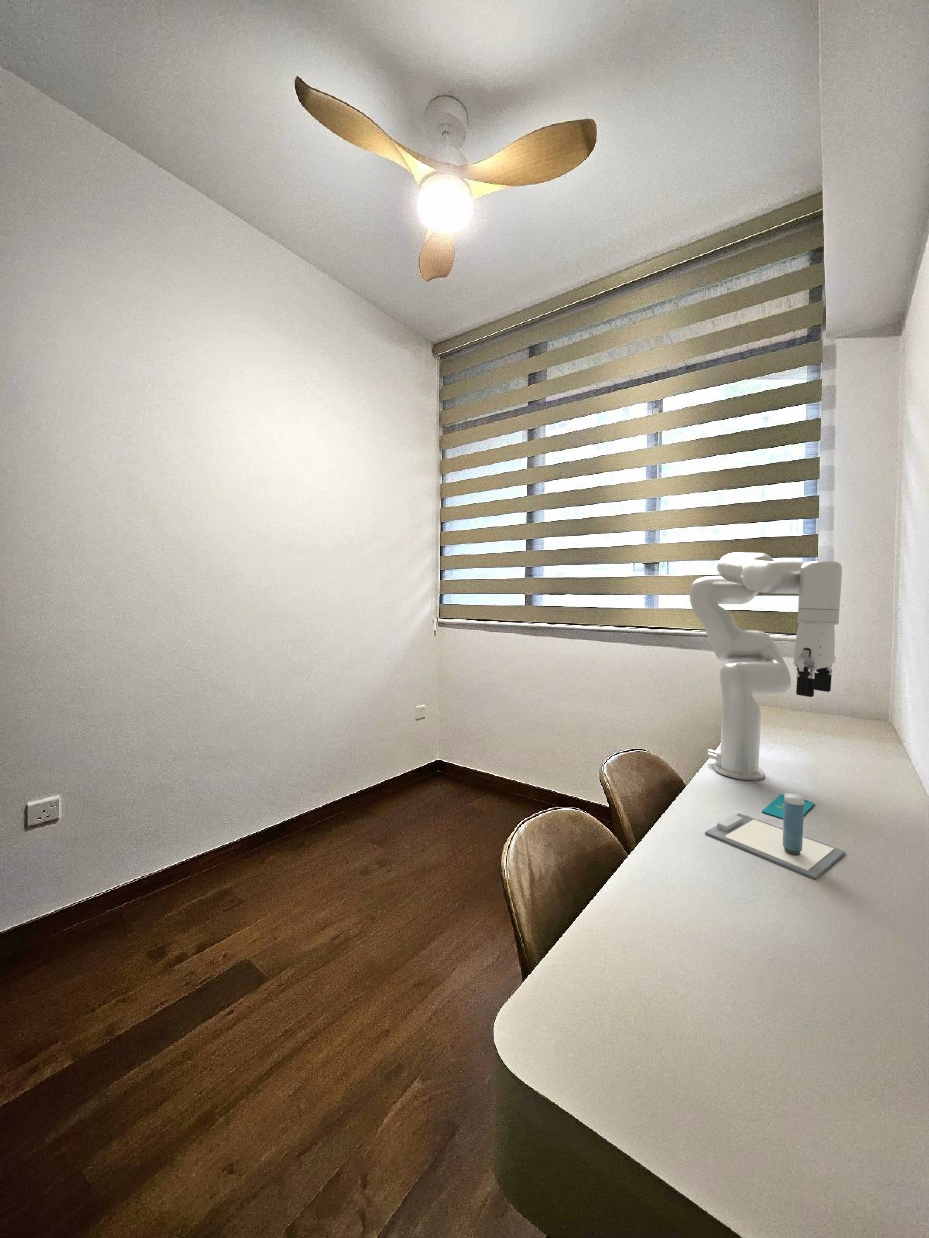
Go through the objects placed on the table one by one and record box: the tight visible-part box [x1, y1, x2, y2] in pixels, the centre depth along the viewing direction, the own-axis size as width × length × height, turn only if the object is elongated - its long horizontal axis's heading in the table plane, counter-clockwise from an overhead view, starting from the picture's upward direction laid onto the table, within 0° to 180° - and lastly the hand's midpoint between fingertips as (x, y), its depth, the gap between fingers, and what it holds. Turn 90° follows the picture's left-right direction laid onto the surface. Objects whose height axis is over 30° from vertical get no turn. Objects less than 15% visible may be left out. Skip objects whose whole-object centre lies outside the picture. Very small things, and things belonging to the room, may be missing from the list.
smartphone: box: [761, 793, 816, 820], centre depth 118 cm, size 7×1×15 cm
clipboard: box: [704, 812, 846, 880], centre depth 101 cm, size 20×15×2 cm
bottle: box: [782, 792, 805, 856], centre depth 97 cm, size 3×3×11 cm
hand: (813, 693), depth 112 cm, fingers open, 9 cm apart
